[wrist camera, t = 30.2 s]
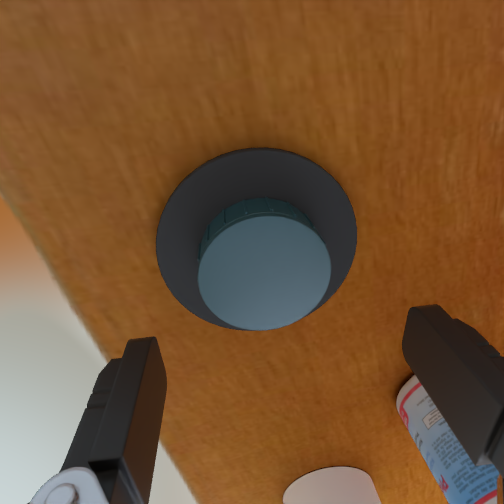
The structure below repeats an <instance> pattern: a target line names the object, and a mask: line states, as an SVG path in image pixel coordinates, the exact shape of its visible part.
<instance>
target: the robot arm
mask: <svg viewBox="0 0 504 504" xmlns="http://www.w3.org/2000/svg"><path fill="white" fill-rule="evenodd" d="M402 350H403V354H404V357H405V360H406V362H407V363H408V365H409V366H410V368H411V369H412V371H413V372H414V374H415V375H416V377H417V379H418V380H419V382H420V383H421V385H422V386H423V388H424V389H425V391H426V392H427V394H428V395H429V397H430V398H431V400H432V401H433V403H434V404H435V406H436V407H437V409H438V410H439V412H440V413H441V415H442V416H443V418H444V419H445V421H446V422H447V424H448V425H449V427H450V428H451V430H452V432H453V433H454V435H455V436H456V438H457V439H458V441H459V442H460V444H461V445H462V447H463V448H464V450H465V451H466V453H467V454H468V456H469V457H470V459H471V460H472V462H473V463H474V465H475V466H480V465H487V464H493V465H494V466H495V467H496V469H497V470H498V472H499V474H498V477H497V504H504V357H501V356H500V353H499V352H498V351H497V350H496V349H495V348H494V347H493V346H492V345H489V342H488V341H487V340H486V339H485V338H484V337H483V336H482V335H480V334H479V333H478V332H477V331H476V330H475V329H474V328H472V327H471V326H469V325H467V324H465V323H464V322H462V321H460V320H459V319H452V318H451V317H450V316H449V315H448V314H447V313H446V312H445V311H444V310H443V309H442V308H441V307H440V306H439V305H437V304H433V305H425V306H416V307H411V308H410V309H409V312H408V316H407V321H406V326H405V331H404V336H403V340H402ZM166 390H167V377H166V371H165V367H164V363H163V360H162V356H161V353H160V349H159V346H158V342H157V339H156V338H155V337H146V338H137V339H130V340H129V341H128V342H127V345H126V348H125V351H124V354H123V357H122V358H118V359H111V361H110V362H109V363H108V364H107V365H106V367H105V368H104V369H103V370H102V371H101V372H100V374H99V375H98V378H97V380H96V383H95V386H94V388H93V393H92V394H91V396H90V398H89V401H88V403H87V408H86V409H85V411H84V413H83V416H82V419H81V421H80V423H79V426H78V428H77V431H76V434H75V436H74V439H73V441H72V444H71V446H70V449H69V451H68V454H67V456H66V459H65V462H64V464H63V466H62V468H61V470H60V472H59V473H58V474H56V475H55V476H53V477H52V478H51V479H49V480H48V481H47V482H46V483H45V484H44V485H43V486H42V487H41V488H40V489H39V490H38V491H37V492H36V494H35V495H34V497H33V498H32V500H31V501H30V502H29V503H28V504H148V503H149V497H150V490H151V484H152V478H153V472H154V466H155V459H156V453H157V447H158V441H159V434H160V428H161V422H162V416H163V410H164V403H165V397H166Z"/></svg>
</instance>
